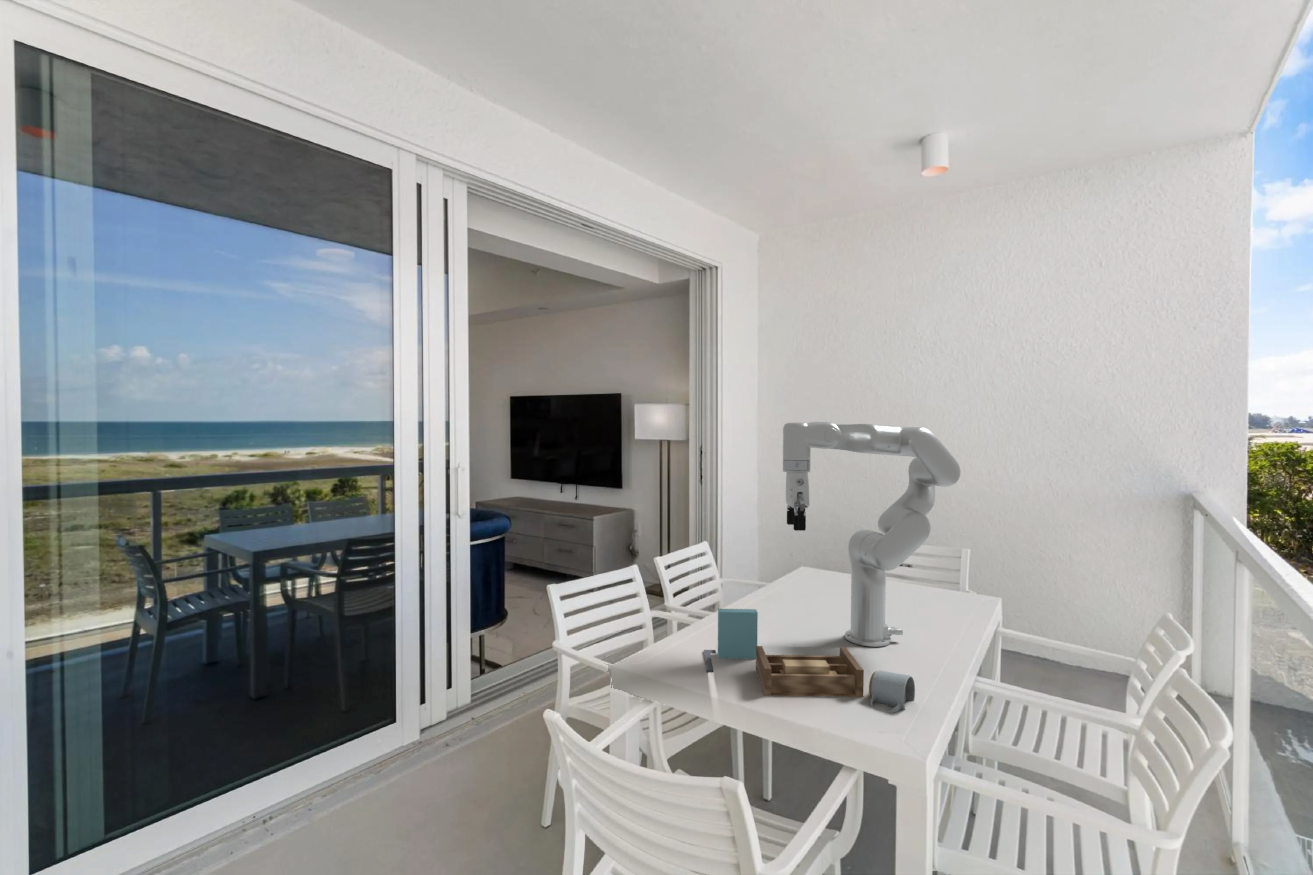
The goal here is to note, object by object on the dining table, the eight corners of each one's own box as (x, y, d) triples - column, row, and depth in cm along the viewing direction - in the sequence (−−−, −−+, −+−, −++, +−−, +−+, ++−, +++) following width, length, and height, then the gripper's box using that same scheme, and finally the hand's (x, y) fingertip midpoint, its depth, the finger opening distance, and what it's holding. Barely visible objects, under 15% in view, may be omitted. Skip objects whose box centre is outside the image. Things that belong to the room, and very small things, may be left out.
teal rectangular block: (755, 657, 162) (756, 609, 162) (757, 662, 159) (757, 612, 159) (717, 657, 163) (718, 608, 162) (718, 661, 160) (718, 612, 159)
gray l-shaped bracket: (762, 652, 168) (762, 650, 168) (770, 672, 154) (770, 670, 154) (703, 651, 168) (703, 649, 168) (706, 672, 154) (706, 670, 154)
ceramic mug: (878, 695, 141) (878, 662, 141) (915, 705, 136) (915, 671, 136) (861, 712, 133) (861, 677, 133) (900, 724, 128) (900, 688, 128)
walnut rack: (845, 677, 151) (845, 647, 151) (863, 703, 137) (863, 669, 137) (755, 675, 152) (756, 645, 152) (764, 701, 138) (764, 668, 138)
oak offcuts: (835, 683, 144) (835, 660, 144) (839, 690, 140) (839, 666, 140) (779, 682, 145) (779, 659, 144) (782, 689, 141) (782, 665, 140)
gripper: (817, 468, 164) (816, 532, 164) (803, 464, 181) (802, 522, 181) (789, 468, 164) (788, 532, 164) (777, 464, 181) (777, 522, 182)
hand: (795, 527), depth 173 cm, fingers open, 9 cm apart
